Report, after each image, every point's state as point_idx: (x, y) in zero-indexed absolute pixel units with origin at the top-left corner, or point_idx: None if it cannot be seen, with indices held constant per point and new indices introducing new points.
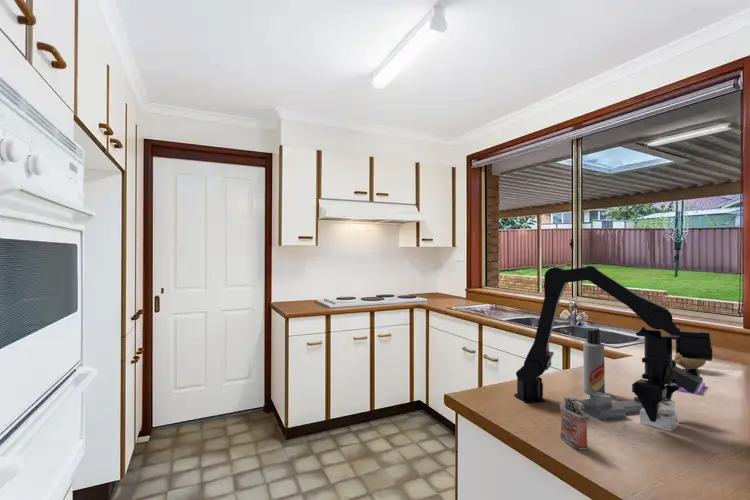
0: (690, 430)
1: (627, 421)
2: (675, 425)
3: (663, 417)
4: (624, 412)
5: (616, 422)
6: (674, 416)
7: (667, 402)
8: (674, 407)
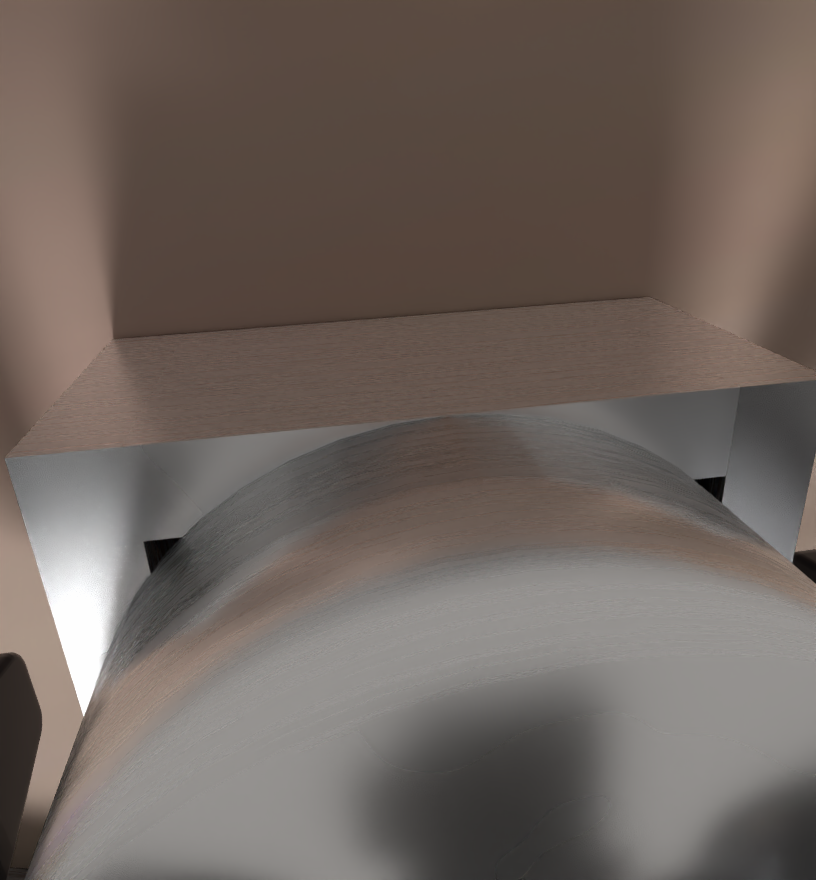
0: (216, 58)
1: None
2: (340, 331)
3: (776, 516)
4: None
5: None
6: (448, 399)
7: (646, 870)
8: (491, 547)
